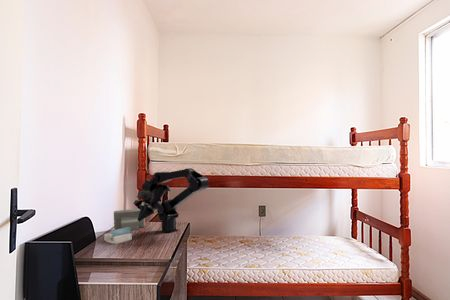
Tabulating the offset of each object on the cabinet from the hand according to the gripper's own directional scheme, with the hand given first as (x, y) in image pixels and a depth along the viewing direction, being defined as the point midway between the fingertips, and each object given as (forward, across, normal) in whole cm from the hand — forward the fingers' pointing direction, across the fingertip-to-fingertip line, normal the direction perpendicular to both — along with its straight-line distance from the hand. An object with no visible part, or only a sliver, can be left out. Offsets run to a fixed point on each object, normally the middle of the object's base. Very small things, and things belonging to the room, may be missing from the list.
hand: (138, 220), depth 148 cm
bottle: (+7, 0, 0) cm, 7 cm away
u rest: (+13, -1, -2) cm, 13 cm away
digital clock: (+1, -18, +10) cm, 21 cm away
